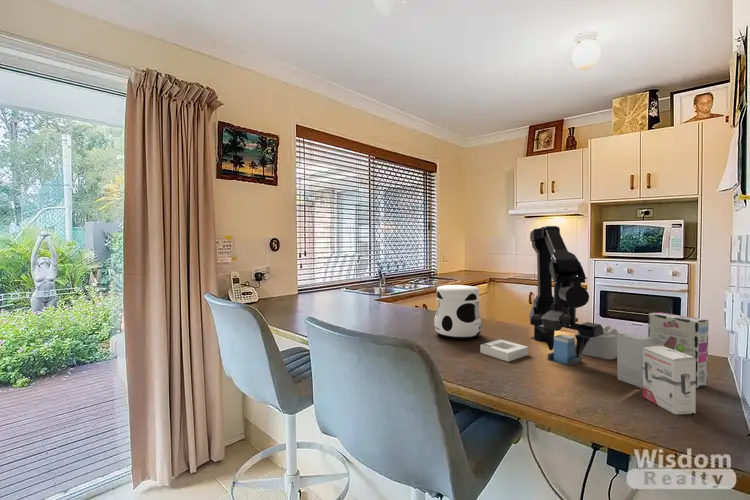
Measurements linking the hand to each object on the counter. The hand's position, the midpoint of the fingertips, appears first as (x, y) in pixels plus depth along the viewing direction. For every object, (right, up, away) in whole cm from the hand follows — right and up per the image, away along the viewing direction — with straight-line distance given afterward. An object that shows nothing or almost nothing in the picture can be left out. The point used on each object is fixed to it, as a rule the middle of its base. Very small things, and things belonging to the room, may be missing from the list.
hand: (564, 353), depth 105 cm
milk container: (-24, -2, +29) cm, 38 cm away
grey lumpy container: (+15, -2, +8) cm, 17 cm away
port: (-15, -3, +7) cm, 17 cm away
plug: (0, -2, 0) cm, 2 cm away
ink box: (+8, -4, -27) cm, 28 cm away
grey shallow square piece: (0, -3, 0) cm, 3 cm away
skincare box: (+9, -3, -15) cm, 18 cm away
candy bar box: (+22, -3, -13) cm, 26 cm away
